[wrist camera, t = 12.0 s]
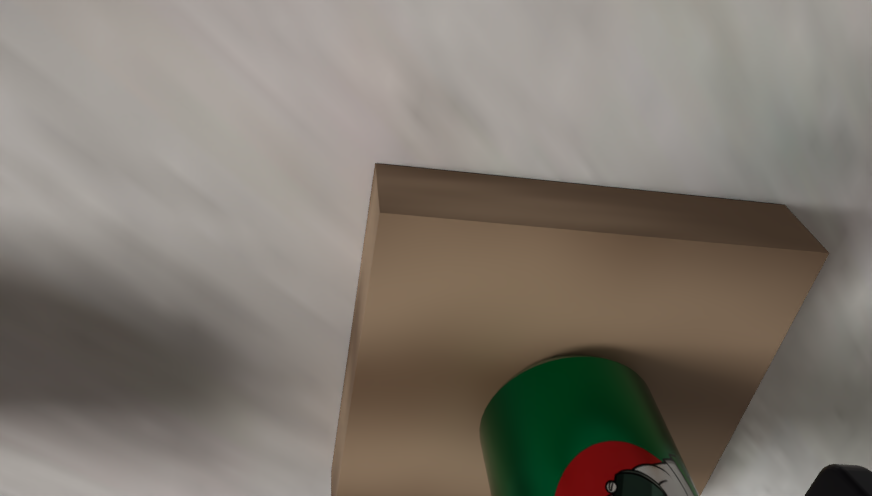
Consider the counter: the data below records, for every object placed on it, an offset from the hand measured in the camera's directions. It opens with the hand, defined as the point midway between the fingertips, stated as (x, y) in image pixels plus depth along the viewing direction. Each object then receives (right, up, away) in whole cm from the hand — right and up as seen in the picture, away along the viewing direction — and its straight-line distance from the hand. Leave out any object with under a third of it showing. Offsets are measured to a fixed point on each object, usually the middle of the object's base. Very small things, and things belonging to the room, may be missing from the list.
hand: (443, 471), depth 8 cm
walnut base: (+3, -1, +17) cm, 17 cm away
